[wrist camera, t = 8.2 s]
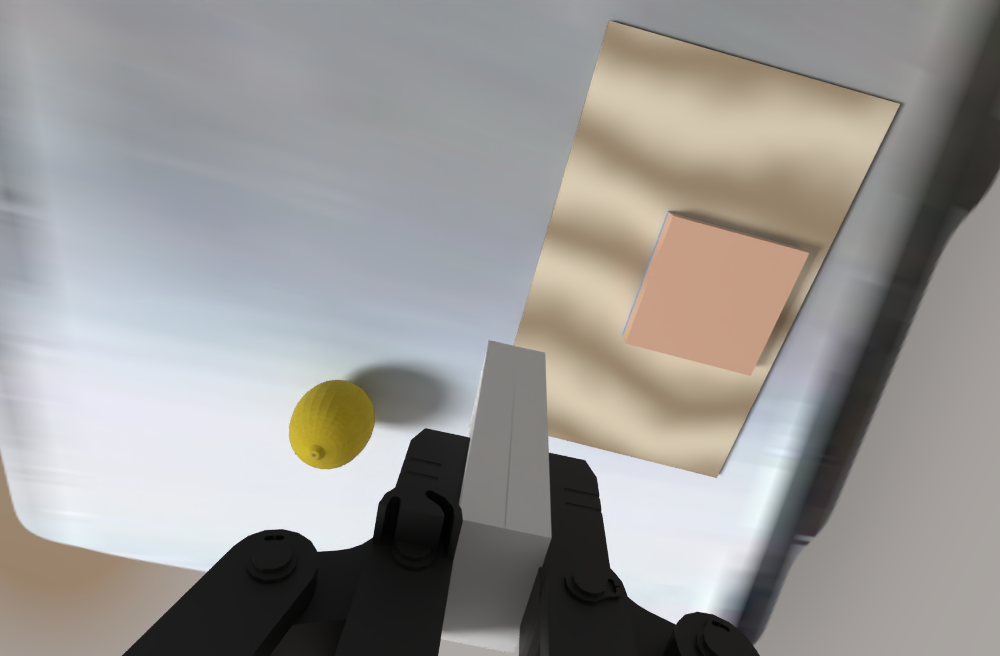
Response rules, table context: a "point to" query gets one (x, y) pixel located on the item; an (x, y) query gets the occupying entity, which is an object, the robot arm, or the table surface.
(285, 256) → the table surface
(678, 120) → the board
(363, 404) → the lemon
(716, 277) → the tile
